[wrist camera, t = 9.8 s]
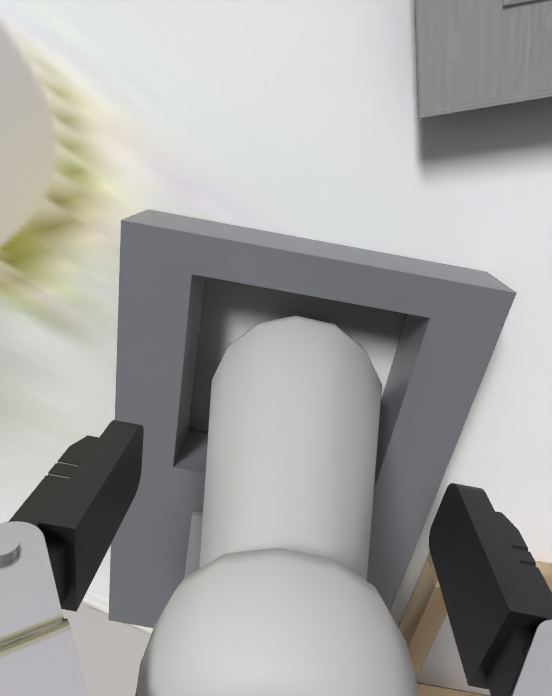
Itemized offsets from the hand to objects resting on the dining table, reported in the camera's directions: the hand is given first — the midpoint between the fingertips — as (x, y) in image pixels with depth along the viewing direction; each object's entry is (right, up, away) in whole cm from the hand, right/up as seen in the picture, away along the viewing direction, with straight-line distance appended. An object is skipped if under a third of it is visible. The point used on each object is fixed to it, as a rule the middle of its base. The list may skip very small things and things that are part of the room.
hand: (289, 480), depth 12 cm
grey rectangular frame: (0, -1, +8) cm, 8 cm away
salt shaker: (0, +3, +6) cm, 7 cm away
